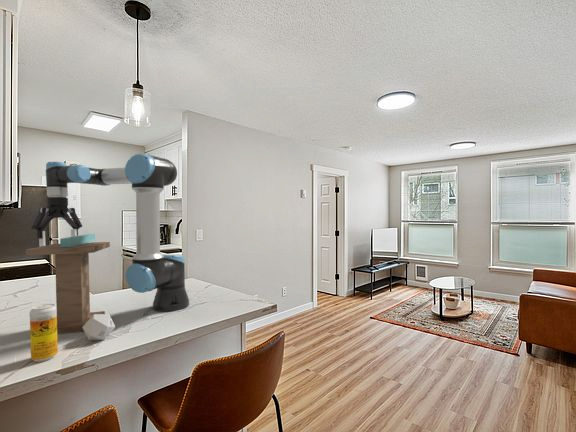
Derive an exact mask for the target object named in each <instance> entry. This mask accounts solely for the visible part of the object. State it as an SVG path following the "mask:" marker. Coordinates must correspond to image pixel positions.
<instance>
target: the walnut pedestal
mask: <svg viewBox="0 0 576 432" xmlns="http://www.w3.org/2000/svg"><path fill="white" fill-rule="evenodd" d="M45 245H46V244H45ZM107 248H111V242H110V241H99V242H94V241H91V242H87V243H83V244H80V245H76V246H72V247H60V243H51V244H47V245H46V246H37V247H32V248H27V249H25V256H46V255H50V256H51V255H52V256H53V255H54V262H55V263H54V266H55V301H56V305H55V307H56V308H57V335H59V334H66V333H67V334H69V333H77V332H78V333H79V332H84V330H83V328H82V327H83V326H84V325H85V324H86V323H87V321H88V320H89V319H90V318H91V317H92V316H93V315H94V314H106V311H105V310H102V311H101V310H100V311H91V303H90V301H91V300H90V298H91V297H90V295H91V294H90V263H89V261H90V259H89V254H91V253H92V254H93V253H96V252H98V251H102V250H105V249H107Z"/></svg>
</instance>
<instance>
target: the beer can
mask: <svg viewBox="0 0 576 432" xmlns="http://www.w3.org/2000/svg"><path fill="white" fill-rule="evenodd" d="M29 326H30V327H29V330H30V337H29V338H30V359H31V360H32V361H33V362H35V363H40V362H41V363H42V362H47V361H49V360H51V359H54V358H55V357H56V355H57V354H58V353H59V350H58V349H59V347H58V346H59V345H58V334H57V306H56V305H55V304H54V303H44V304H39V305H36V306H32V307H31V310H30V312H29Z"/></svg>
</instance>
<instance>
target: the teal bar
mask: <svg viewBox="0 0 576 432" xmlns="http://www.w3.org/2000/svg"><path fill="white" fill-rule="evenodd" d="M94 241H96V234H95V233H85V234H78V236H73V237H71V236H68V237H63V238H60V241H59V242H60V243H59V244H60V247H72V246H76V245H80V244H83V243H92V242H94Z"/></svg>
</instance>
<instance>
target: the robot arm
mask: <svg viewBox="0 0 576 432" xmlns="http://www.w3.org/2000/svg"><path fill="white" fill-rule="evenodd" d="M45 165H46V166H45V180H46V183H45V184H46V196H47V197H46V205H47V208H46V207H40V208H39V210H38V215H37V216H36V218H35V220H34V222H33V224H32V225H31V227H30V228H31V230H33V231H35V232H36V238H37V239H38V240H39V241H38V242H39V244H38V245H39V246H38V247H41V246H46V231H45V228H47V226H48V225H49V223H50V222H52V220H54V219H63V220H64V221H65V222H66V223H67V224H68V225H69V226H70V227H71V229H70V237H73V236H79V230H80V229H81V228H82V227H83V224H82V222H81V221H80V219H79V217H78V215H77V213H76V209H75V207H68V205H69V198H68V196H69V193H68V191H69V190H68V189H69V188H68V184H84V185H86V184H87V185H95V186H111V185H125V184H126V185H128V184H131V189H132V190H133V191H134V192H135V202H136V203H135V204H136V205H135V209H136V210H135V211H136V212H135V213H136V214H135V215H136V217H135V218H136V219H135V222H136V226H135V228H136V231H135V232H136V233H135V234H136V253H135V255H133V256H132V258H131V260H132V263H131V265H129V266H128V268H126V270H125V276H124V277H125V281H126V283H127V285H128V287H130V289H131V290H132V291H134V292H136V293H138V294H139V293H141V294H142V293H146V292H152V291H153V290H156V293H155V296H154V299H153V302H152V309H153V311H156V312H174V311H179V310H183V309H185V308H187V307H189V305H190V298H189V296H188V293H187V290H186V286H185V285H186V281H185V280H186V279H185V277H186V276H185V271H186V270H185V264H186V263H185V257H184V256H183V255H181V254H162V253H161V214H160V212H161V209H160V208H161V207H160V206H161V205H160V204H161V201H160V200H161V197H160V194H161V193H162V191H164V190H165V187H166V186H167V187H168V186H170V185H171V184H173V183H174V182H175V181H176V180H177V176H178V169H177V167H176V165H175V164H174V163H173V162H172V161H171V160H170V159H167V158H163V157H159V156H155V155H151V154H147V153H136V154H133V155H132V156H130V158H129V159H128V160H127V162H126V164H125V167H112V168H94V167H88V166H86V165H83V164H72V165H68V164H67V163H66V162H64V161H48V162H47V163H45ZM46 213H47V215H46Z"/></svg>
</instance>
